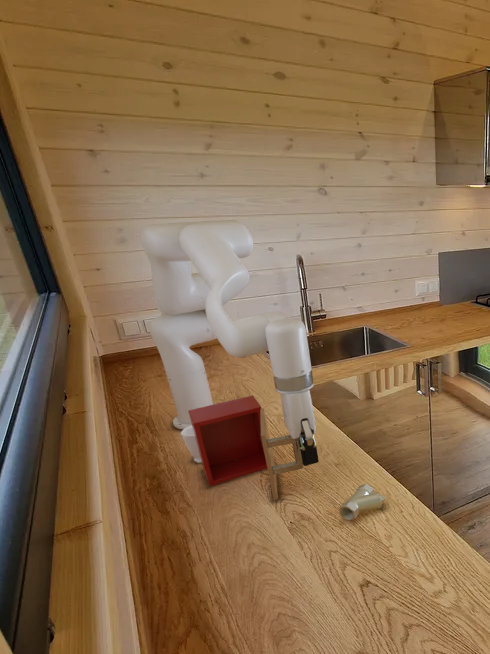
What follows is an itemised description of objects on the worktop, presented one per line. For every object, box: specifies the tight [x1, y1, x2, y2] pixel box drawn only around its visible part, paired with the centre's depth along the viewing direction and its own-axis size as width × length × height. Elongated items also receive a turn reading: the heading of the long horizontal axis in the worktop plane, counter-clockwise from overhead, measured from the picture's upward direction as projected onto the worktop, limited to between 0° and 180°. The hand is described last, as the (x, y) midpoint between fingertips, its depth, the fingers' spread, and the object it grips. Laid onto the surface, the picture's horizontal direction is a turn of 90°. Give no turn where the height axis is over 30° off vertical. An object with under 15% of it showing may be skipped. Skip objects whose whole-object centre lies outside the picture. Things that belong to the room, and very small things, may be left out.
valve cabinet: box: [188, 395, 268, 487], centre depth 114 cm, size 8×14×16 cm, turn 125°
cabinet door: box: [260, 407, 304, 501], centre depth 109 cm, size 7×14×16 cm, turn 22°
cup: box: [179, 426, 202, 464], centre depth 121 cm, size 7×10×8 cm
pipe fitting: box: [339, 483, 387, 522], centre depth 100 cm, size 8×4×7 cm
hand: (306, 454), depth 106 cm, fingers open, 7 cm apart
